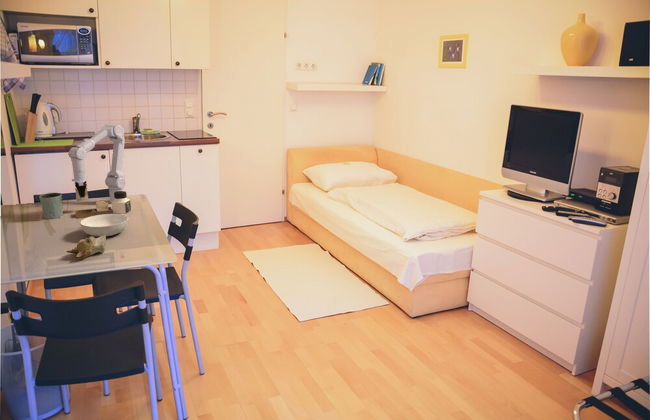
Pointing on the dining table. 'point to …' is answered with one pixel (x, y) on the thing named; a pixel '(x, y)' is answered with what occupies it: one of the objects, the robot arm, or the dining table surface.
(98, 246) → the ceramic sculpture
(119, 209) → the medicine bottle
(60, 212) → the green cylindrical pot
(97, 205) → the block
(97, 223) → the serving bowl
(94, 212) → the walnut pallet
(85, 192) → the birch block
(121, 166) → the robot arm
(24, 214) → the dining table surface
